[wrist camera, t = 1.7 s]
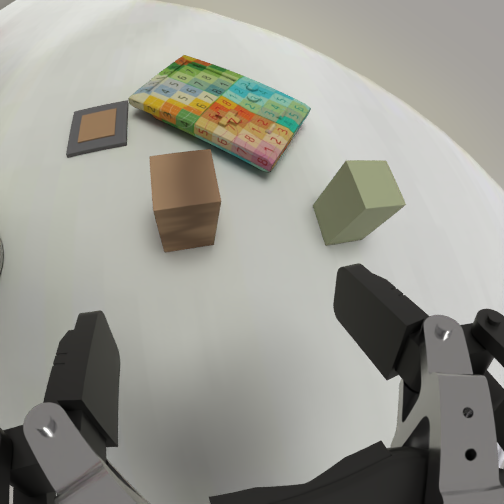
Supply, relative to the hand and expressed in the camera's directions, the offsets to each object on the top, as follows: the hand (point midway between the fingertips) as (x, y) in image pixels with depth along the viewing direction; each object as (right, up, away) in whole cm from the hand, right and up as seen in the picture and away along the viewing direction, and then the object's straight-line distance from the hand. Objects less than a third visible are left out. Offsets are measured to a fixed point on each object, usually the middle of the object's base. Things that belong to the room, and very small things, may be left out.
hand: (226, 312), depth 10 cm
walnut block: (-6, +5, +21) cm, 22 cm away
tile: (-19, +18, +23) cm, 35 cm away
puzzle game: (-4, +19, +27) cm, 33 cm away
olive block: (+11, +5, +24) cm, 27 cm away
